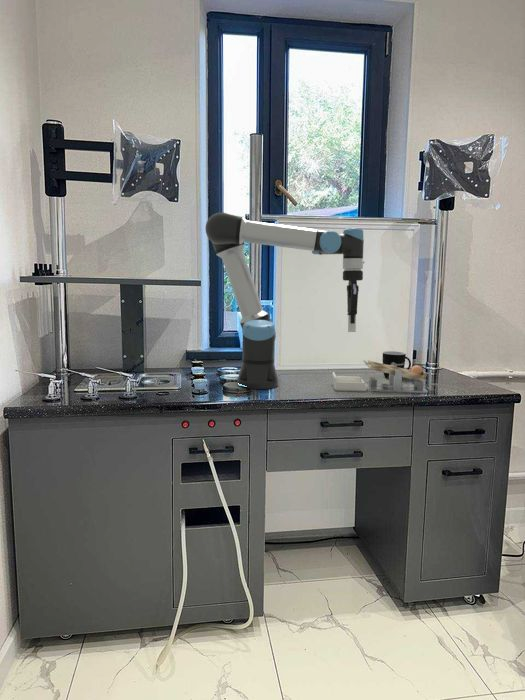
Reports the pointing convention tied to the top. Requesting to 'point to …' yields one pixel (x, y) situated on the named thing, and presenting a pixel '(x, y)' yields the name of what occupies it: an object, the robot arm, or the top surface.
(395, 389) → the stand
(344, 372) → the top surface
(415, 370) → the ball
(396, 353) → the mug
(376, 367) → the wooden ramp
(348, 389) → the dish
